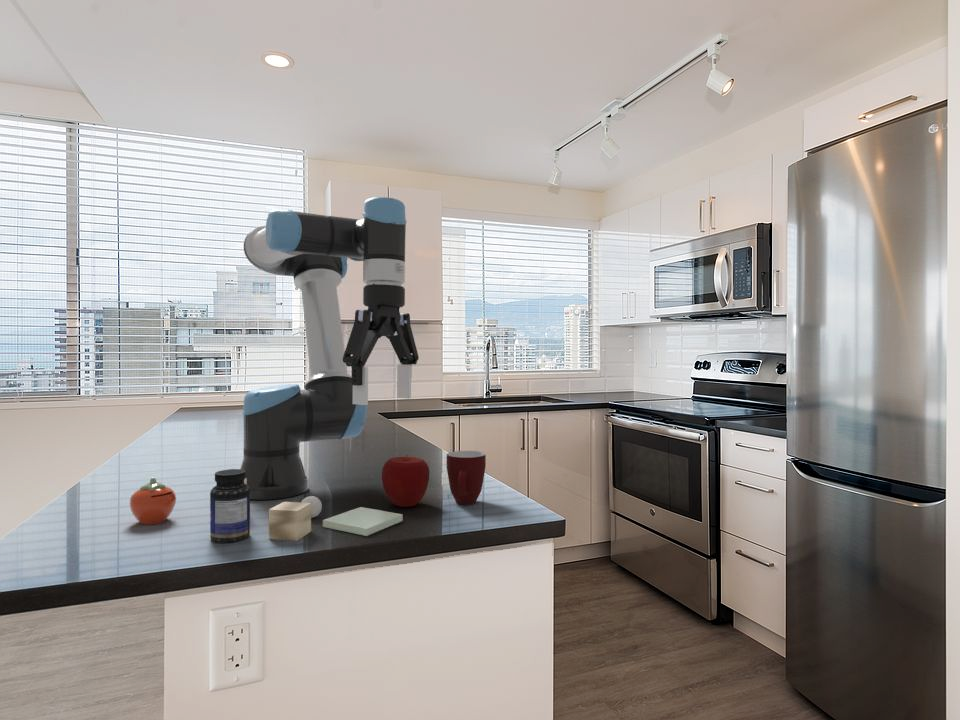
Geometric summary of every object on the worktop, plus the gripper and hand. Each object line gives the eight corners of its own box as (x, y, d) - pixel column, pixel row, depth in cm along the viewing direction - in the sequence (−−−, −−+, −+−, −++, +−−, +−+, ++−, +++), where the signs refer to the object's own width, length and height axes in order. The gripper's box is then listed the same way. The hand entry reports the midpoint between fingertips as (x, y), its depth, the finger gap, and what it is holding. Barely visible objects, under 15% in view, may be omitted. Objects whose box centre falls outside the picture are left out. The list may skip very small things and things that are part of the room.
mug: (486, 511, 113) (486, 460, 113) (444, 511, 113) (445, 460, 112) (484, 497, 123) (485, 450, 123) (447, 497, 123) (447, 450, 123)
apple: (431, 510, 113) (431, 459, 113) (381, 512, 111) (381, 461, 111) (427, 498, 122) (427, 451, 122) (381, 500, 121) (381, 452, 120)
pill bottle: (218, 532, 99) (218, 468, 99) (255, 531, 99) (254, 467, 99) (204, 544, 93) (204, 475, 93) (243, 543, 93) (243, 475, 93)
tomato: (145, 530, 100) (144, 484, 100) (120, 523, 104) (120, 479, 103) (185, 519, 106) (184, 476, 106) (160, 513, 110) (160, 471, 110)
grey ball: (294, 518, 107) (294, 497, 107) (310, 513, 110) (310, 492, 110) (310, 522, 105) (310, 500, 105) (326, 516, 108) (326, 495, 108)
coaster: (322, 526, 102) (322, 520, 102) (360, 513, 111) (360, 506, 111) (366, 535, 97) (366, 528, 97) (402, 520, 106) (402, 514, 106)
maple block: (269, 539, 96) (269, 509, 95) (284, 530, 100) (284, 501, 100) (297, 541, 95) (297, 510, 95) (310, 531, 100) (311, 503, 100)
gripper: (357, 277, 92) (356, 408, 93) (436, 290, 115) (435, 396, 116) (321, 278, 96) (320, 406, 96) (404, 291, 118) (403, 394, 119)
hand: (383, 401), depth 106 cm, fingers open, 13 cm apart
